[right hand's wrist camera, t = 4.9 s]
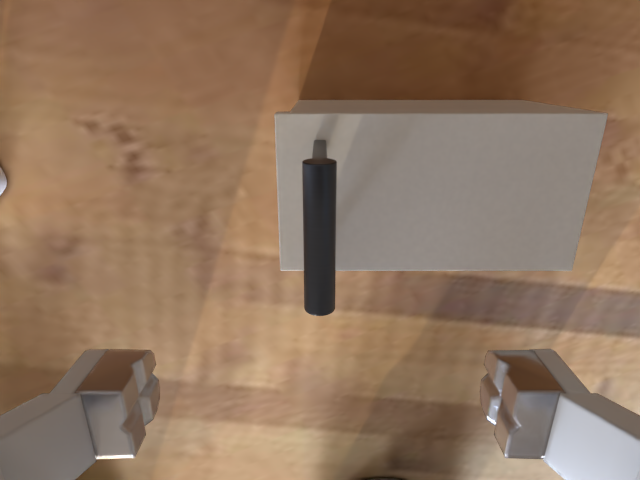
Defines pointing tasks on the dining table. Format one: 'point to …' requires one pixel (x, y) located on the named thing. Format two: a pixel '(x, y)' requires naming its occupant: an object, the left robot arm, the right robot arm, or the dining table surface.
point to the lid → (430, 192)
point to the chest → (428, 106)
